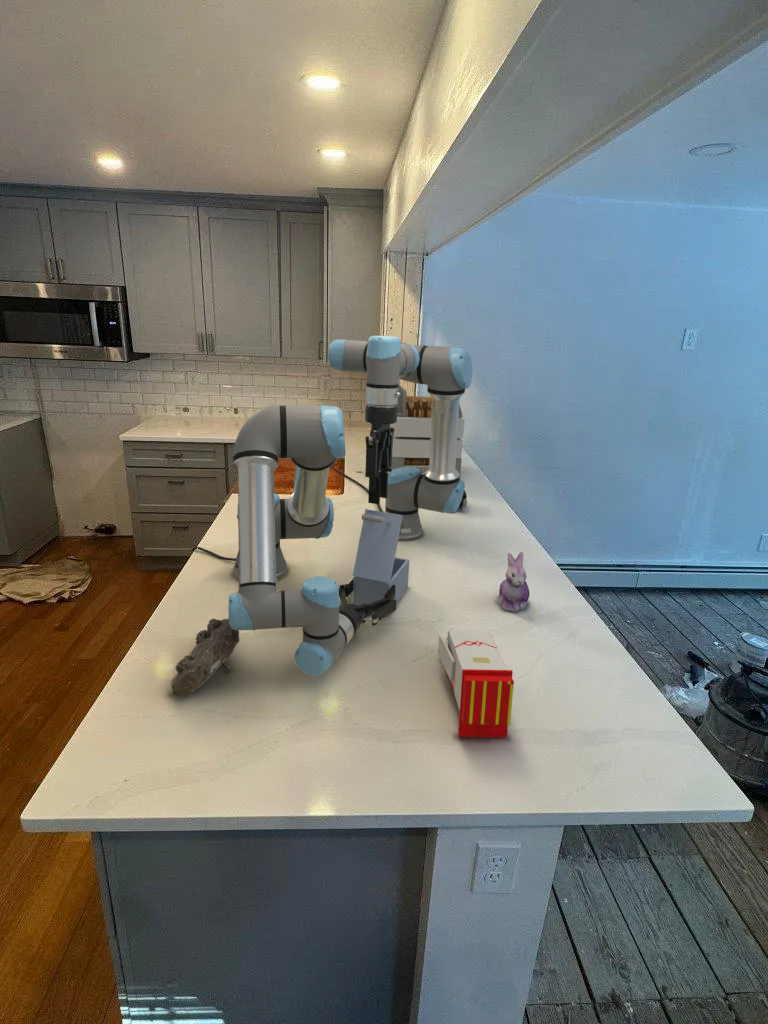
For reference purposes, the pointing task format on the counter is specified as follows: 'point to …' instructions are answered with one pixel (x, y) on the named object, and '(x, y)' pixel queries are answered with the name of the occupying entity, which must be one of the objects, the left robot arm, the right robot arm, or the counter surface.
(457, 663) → the toy
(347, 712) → the counter surface
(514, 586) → the figurine
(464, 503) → the figurine character
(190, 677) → the fossil
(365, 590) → the chest
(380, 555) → the lid
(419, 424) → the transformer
